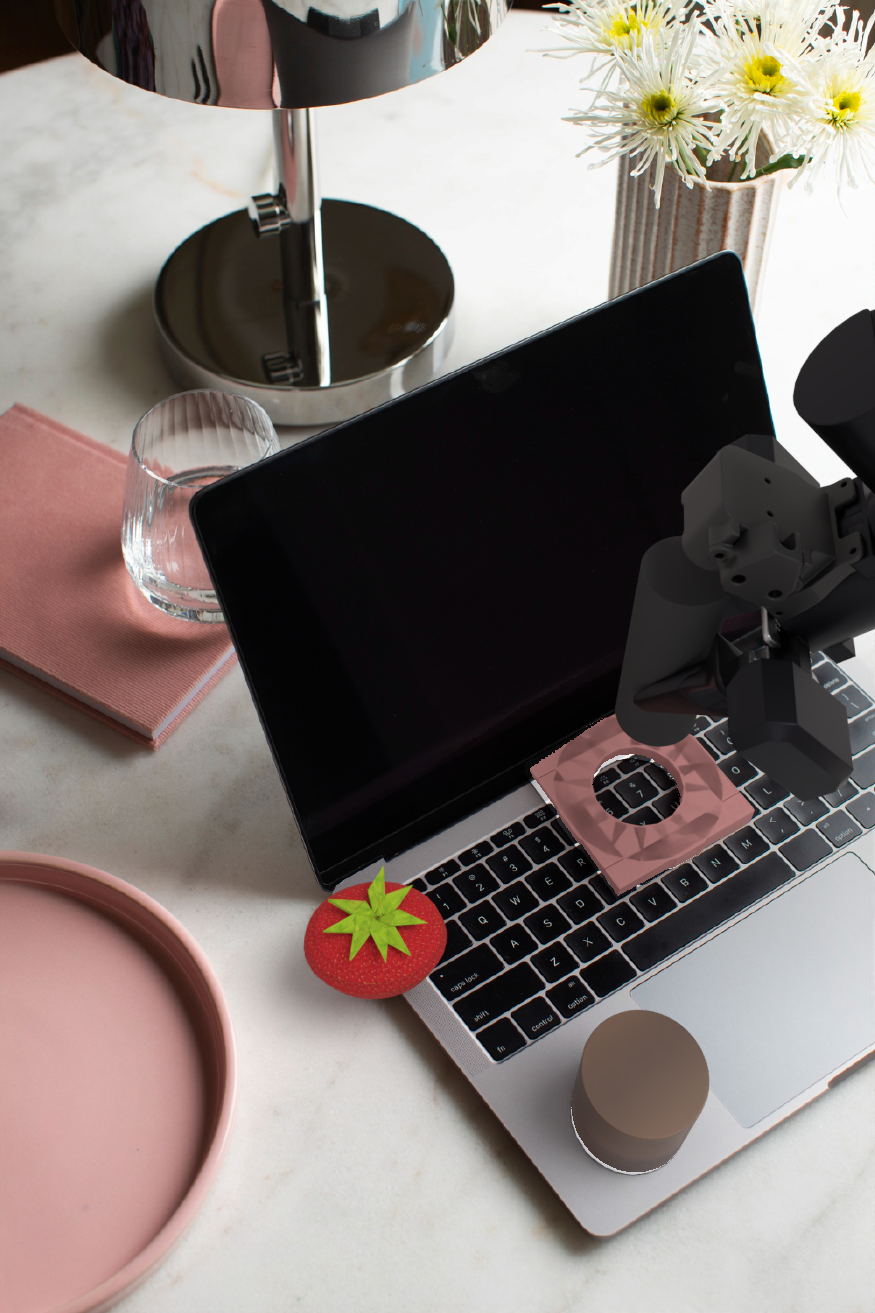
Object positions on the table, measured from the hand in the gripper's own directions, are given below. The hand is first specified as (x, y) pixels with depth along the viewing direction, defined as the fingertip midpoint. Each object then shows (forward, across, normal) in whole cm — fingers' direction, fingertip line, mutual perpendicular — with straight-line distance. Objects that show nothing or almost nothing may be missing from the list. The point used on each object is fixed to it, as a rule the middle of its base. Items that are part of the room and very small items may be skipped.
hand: (638, 667), depth 59 cm
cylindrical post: (+2, 0, +4) cm, 4 cm away
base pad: (+9, 0, +10) cm, 13 cm away
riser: (+9, +19, +10) cm, 23 cm away
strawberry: (+18, +13, +1) cm, 23 cm away
